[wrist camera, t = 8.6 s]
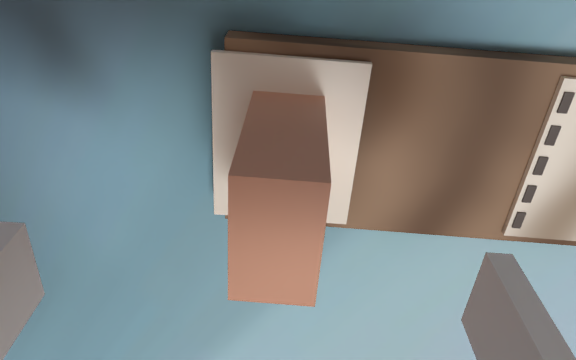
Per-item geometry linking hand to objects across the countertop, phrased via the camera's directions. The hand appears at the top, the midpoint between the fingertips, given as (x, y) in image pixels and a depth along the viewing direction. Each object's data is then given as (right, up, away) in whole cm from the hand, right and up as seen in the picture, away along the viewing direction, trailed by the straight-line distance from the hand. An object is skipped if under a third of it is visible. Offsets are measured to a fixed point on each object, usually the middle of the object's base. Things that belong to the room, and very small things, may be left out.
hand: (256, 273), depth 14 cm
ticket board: (+9, +4, +8) cm, 13 cm away
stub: (+1, +4, +7) cm, 9 cm away
